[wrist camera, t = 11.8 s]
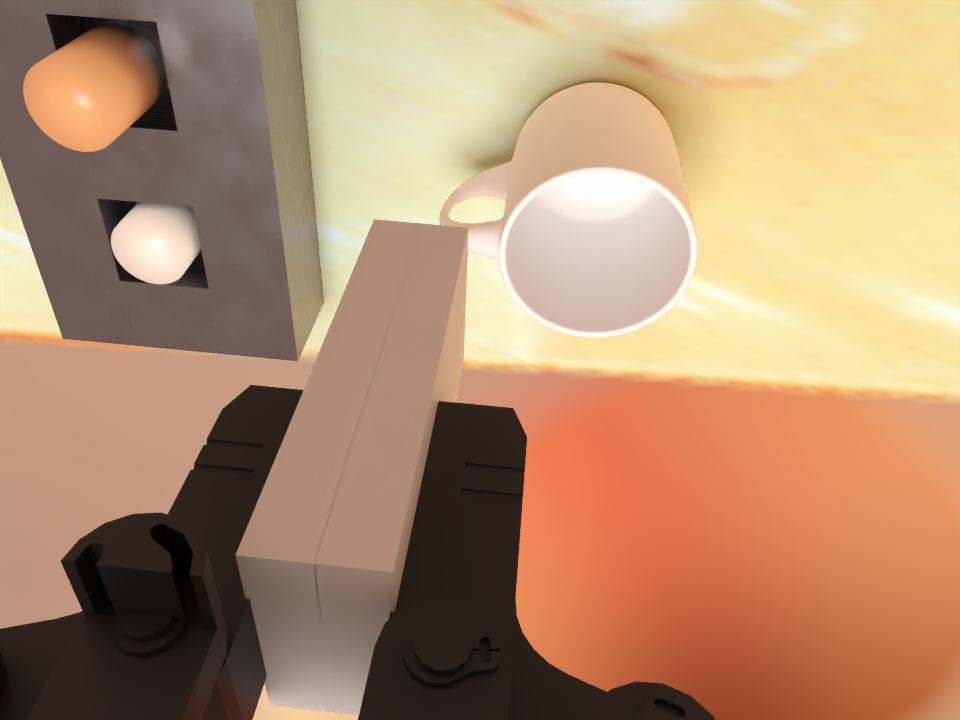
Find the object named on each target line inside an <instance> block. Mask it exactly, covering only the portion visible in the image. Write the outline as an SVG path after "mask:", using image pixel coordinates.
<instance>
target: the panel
mask: <svg viewBox="0 0 960 720" xmlns="http://www.w3.org/2000/svg"><path fill="white" fill-rule="evenodd" d="M105 23H117V24H122V25H125V26H128V27H130V28H132V29H134V30H136V31H138V32H139V33H140V34H142V35H143V36H144V37H145V38H147V39H148V40H149V41H150V42H151V43H152V45H153V46H154V47H155V49H156V50H157V52H158V53H159V55H160V57H161V59H162V61H163V64H164V67H165V71H166V87H165V90H164V93H163V95H162V96H161V98H160V99H159V100H158V101H157V102H156V103H155V104H154V105H153V106H152V107H151V108H150V109H148V110H147V111H146V112H145V113H144V114H143V115H142V116H141V117H140V118H138V119H137V120H136V121H135V122H134V123H133V124H132V125H131V126H130V127H128V128H127V129H126V130H125V131H124V132H123V133H122V134H121V135H119V136H118V137H117V138H116V139H115V140H114V141H113V142H112V143H111V144H109V145H108V146H107V147H105V148H103V149H101V150H98V151H94V152H81V151H76V150H72V149H69V148H67V147H65V146H63V145H61V144H59V143H57V142H56V141H54V140H53V139H51V138H50V137H49V136H47V135H46V134H45V133H44V132H43V131H42V130H41V129H40V128H39V127H38V125H37V124H36V123H35V121H34V120H33V118H32V117H31V115H30V113H29V111H28V109H27V106H26V104H25V100H24V94H23V84H24V79H25V77H26V74H27V73H28V71H29V70H30V69H31V67H32V66H34V65H35V64H36V63H38V62H39V61H41V60H43V59H44V58H46V57H47V56H49V55H51V54H52V53H54V52H55V51H57V50H59V49H60V48H62V47H63V46H65V45H67V44H68V43H70V42H71V41H73V40H75V39H76V38H78V37H79V36H81V35H83V34H84V33H86V32H87V31H89V30H91V29H92V28H94V27H96V26H98V25H101V24H105ZM0 159H1V161H2V164H3V167H4V170H5V173H6V176H7V179H8V182H9V184H10V187H11V190H12V193H13V196H14V199H15V202H16V205H17V207H18V210H19V213H20V216H21V219H22V222H23V225H24V228H25V230H26V233H27V236H28V239H29V242H30V245H31V248H32V251H33V253H34V256H35V259H36V262H37V265H38V268H39V271H40V274H41V276H42V279H43V282H44V285H45V288H46V291H47V294H48V297H49V299H50V302H51V305H52V308H53V311H54V314H55V317H56V320H57V322H58V325H59V328H60V331H61V334H62V337H63V339H72V340H83V341H93V342H104V343H114V344H125V345H135V346H145V347H156V348H166V349H177V350H187V351H198V352H208V353H219V354H229V355H240V356H250V357H260V358H271V359H282V360H292V361H298V360H299V357H300V355H301V353H302V350H303V348H304V346H305V344H306V341H307V339H308V337H309V335H310V332H311V330H312V328H313V325H314V323H315V321H316V319H317V316H318V314H319V312H320V310H321V307H322V305H323V292H322V282H321V271H320V260H319V249H318V239H317V228H316V217H315V206H314V196H313V185H312V174H311V163H310V152H309V142H308V131H307V120H306V109H305V99H304V88H303V77H302V66H301V56H300V45H299V34H298V23H297V13H296V2H295V0H0ZM138 202H144V203H156V204H167V205H179V206H190V207H193V211H194V216H195V221H196V226H197V232H198V237H199V242H200V247H201V251H200V252H199V253H198V255H197V256H196V257H195V259H194V260H193V262H192V263H191V264H190V266H189V267H188V269H187V270H186V271H185V273H184V274H183V275H182V277H181V278H179V279H178V280H176V281H175V282H172V283H169V284H152V283H148V282H145V281H143V280H140V279H138V278H136V277H135V276H133V275H132V274H130V273H129V272H128V271H127V270H125V269H124V268H123V267H122V266H121V264H120V263H119V262H118V260H117V259H116V257H115V255H114V253H113V250H112V246H111V235H112V232H113V230H114V228H115V227H116V226H117V225H118V224H119V222H120V221H121V220H122V219H123V218H124V217H125V216H126V215H127V214H128V213H129V212H130V210H131V209H132V208H133V207H134V206H135V205H136V204H137V203H138Z"/></svg>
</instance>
